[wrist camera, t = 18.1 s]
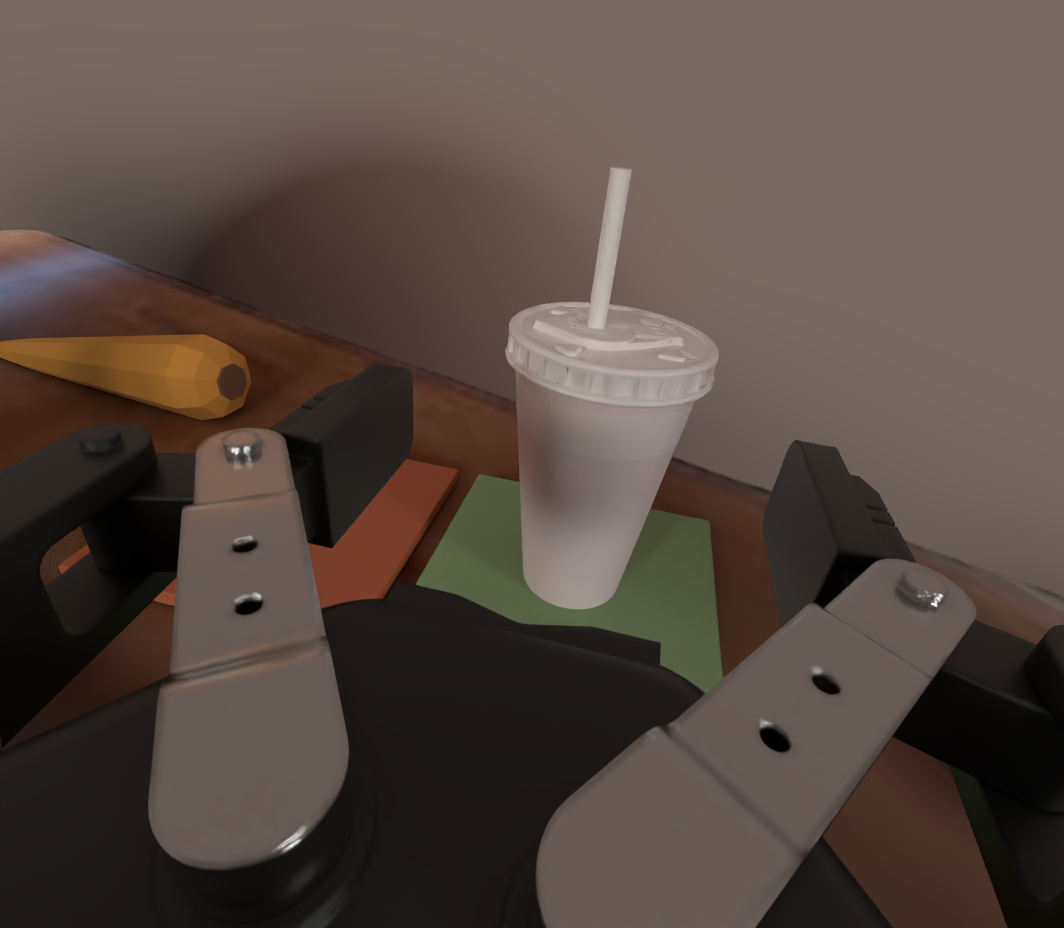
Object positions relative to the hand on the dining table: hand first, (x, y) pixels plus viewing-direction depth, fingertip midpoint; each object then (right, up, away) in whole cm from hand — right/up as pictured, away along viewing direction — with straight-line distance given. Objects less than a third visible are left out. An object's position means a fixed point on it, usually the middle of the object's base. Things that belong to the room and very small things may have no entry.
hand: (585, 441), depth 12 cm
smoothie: (0, -5, +10) cm, 11 cm away
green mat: (0, -5, +10) cm, 12 cm away
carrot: (-26, +4, +21) cm, 34 cm away
